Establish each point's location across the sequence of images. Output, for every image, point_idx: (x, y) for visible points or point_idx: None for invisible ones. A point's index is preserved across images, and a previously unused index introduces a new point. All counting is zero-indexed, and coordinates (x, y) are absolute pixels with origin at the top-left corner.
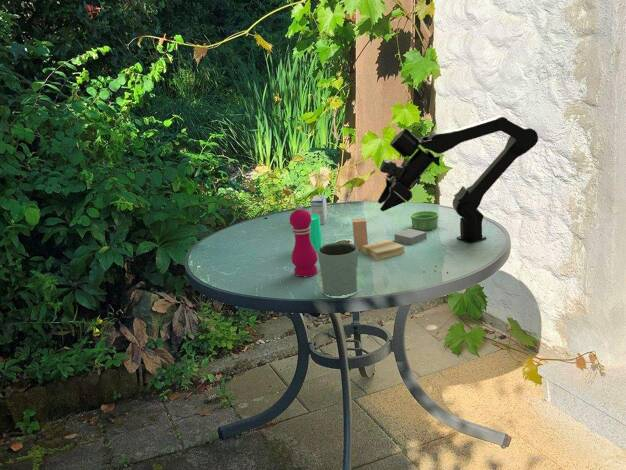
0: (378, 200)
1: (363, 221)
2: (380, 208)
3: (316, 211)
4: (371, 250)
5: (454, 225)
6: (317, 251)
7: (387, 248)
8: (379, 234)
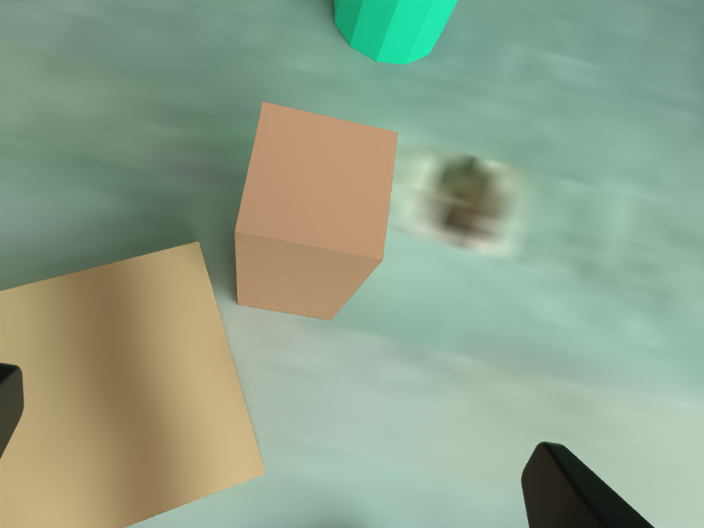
0: (551, 455)
1: (241, 204)
2: (2, 367)
3: None
4: (50, 279)
5: None
6: (336, 23)
7: None
8: None
